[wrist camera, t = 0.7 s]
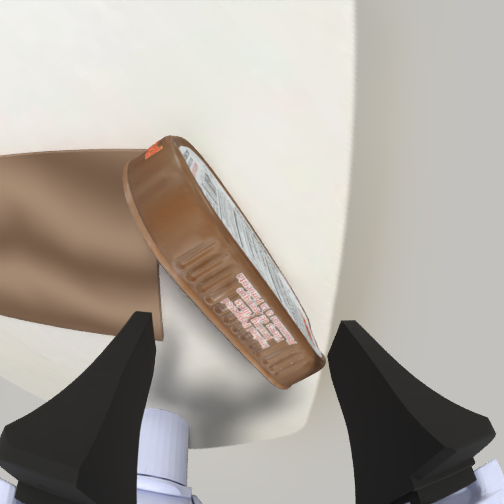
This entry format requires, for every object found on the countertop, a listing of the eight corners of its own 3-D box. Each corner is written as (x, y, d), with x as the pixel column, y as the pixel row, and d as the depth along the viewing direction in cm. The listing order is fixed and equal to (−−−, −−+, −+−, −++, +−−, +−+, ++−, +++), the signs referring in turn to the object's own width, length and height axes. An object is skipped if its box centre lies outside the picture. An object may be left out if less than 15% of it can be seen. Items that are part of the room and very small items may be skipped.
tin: (145, 149, 16) (82, 197, 9) (190, 117, 15) (156, 137, 8) (273, 321, 23) (292, 416, 16) (311, 302, 22) (343, 395, 15)
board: (163, 335, 23) (162, 340, 22) (-10, 307, 21) (-13, 311, 20) (158, 149, 16) (156, 151, 16) (-47, 162, 14) (-51, 164, 13)
